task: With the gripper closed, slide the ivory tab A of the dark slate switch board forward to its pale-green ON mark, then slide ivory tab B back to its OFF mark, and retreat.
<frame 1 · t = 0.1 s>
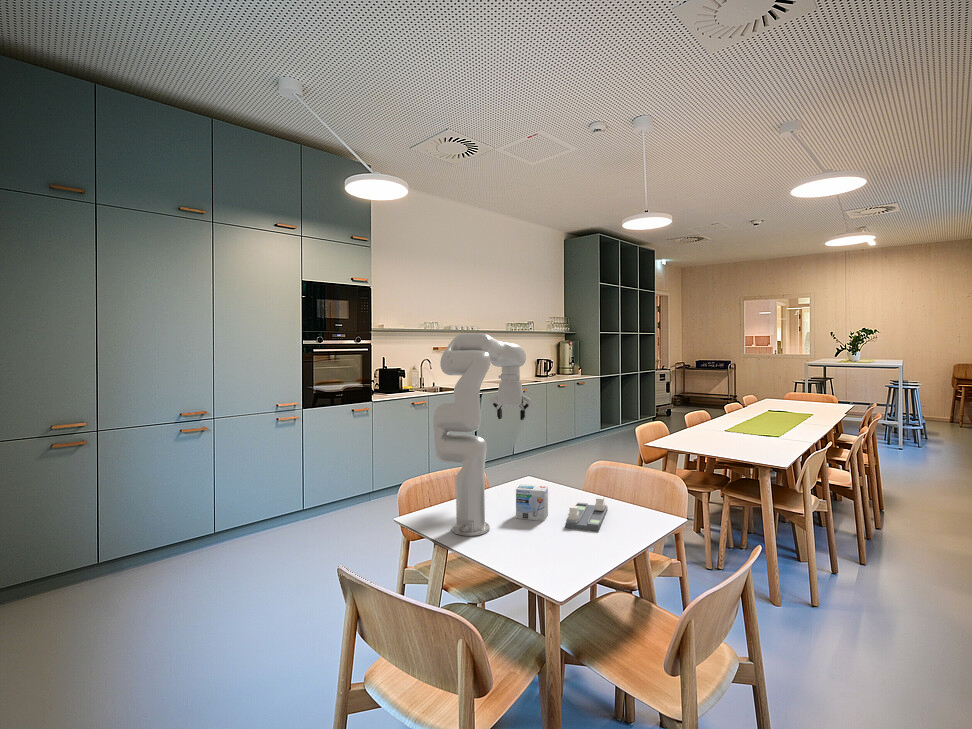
hand: (511, 419, 209), 31 cm above the table, fingers open, 9 cm apart
light bulb box: (532, 517, 180), on the table
tab b: (600, 503, 182), point 4 cm above the table, slide at 14.0 cm
tab a: (573, 512, 172), point 4 cm above the table, slide at 0.5 cm
switch board: (587, 518, 177), on the table
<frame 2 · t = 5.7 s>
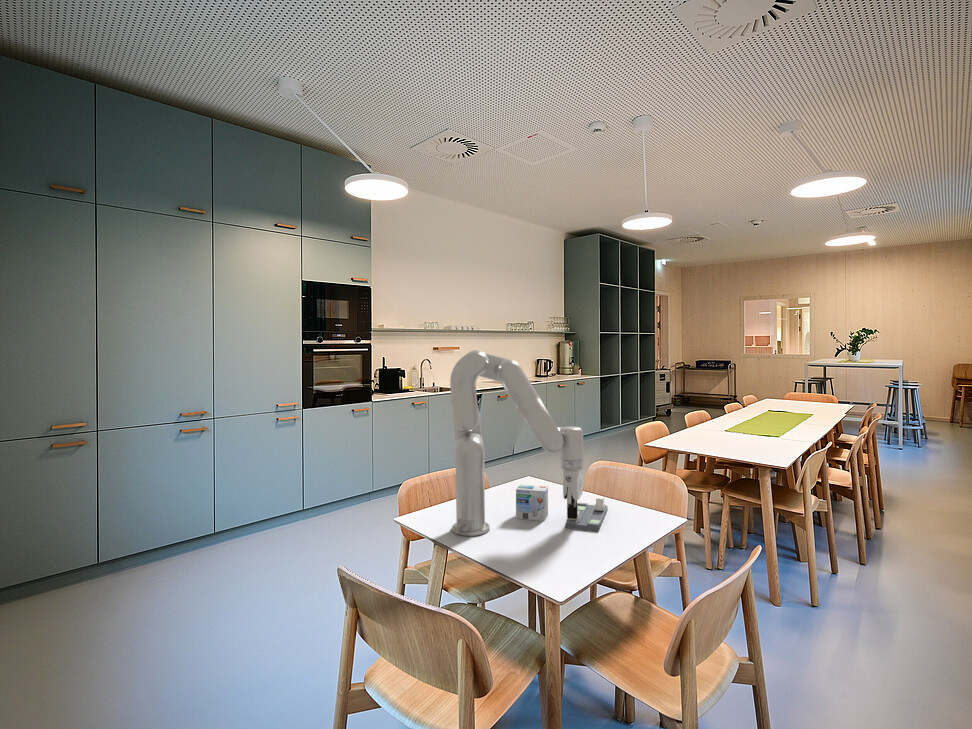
hand: (572, 517, 169), 3 cm above the table, fingers closed
tab a: (574, 512, 172), point 4 cm above the table, slide at 0.9 cm, touching gripper
everything else where it was.
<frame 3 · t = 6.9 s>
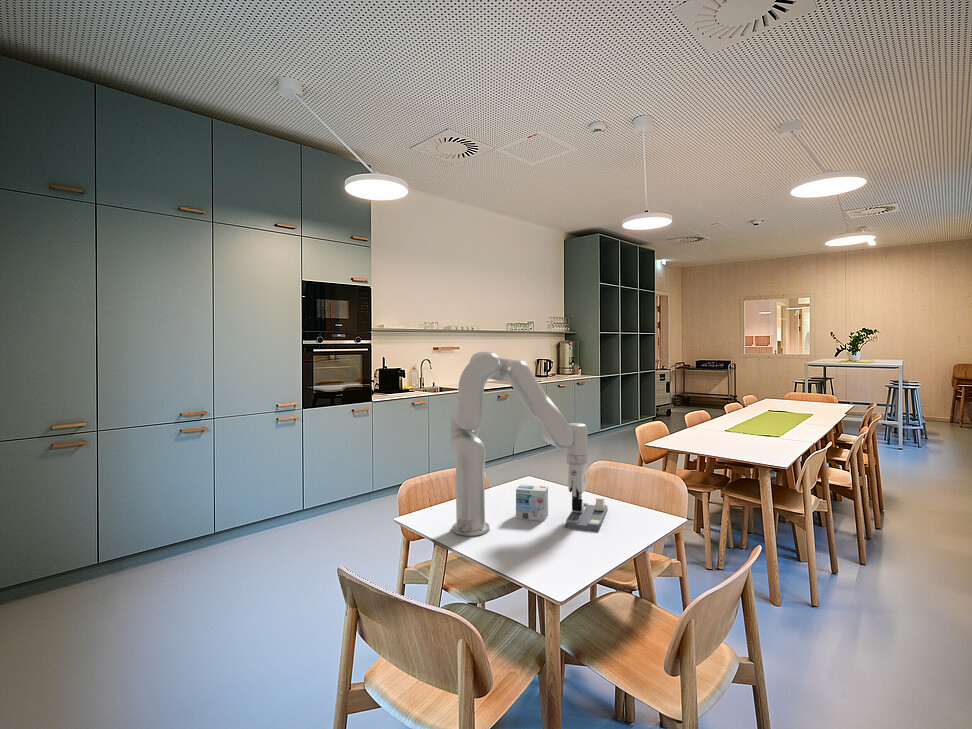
hand: (577, 510, 177), 3 cm above the table, fingers closed
tab a: (578, 505, 180), point 4 cm above the table, slide at 9.4 cm, touching gripper
everything else where it was.
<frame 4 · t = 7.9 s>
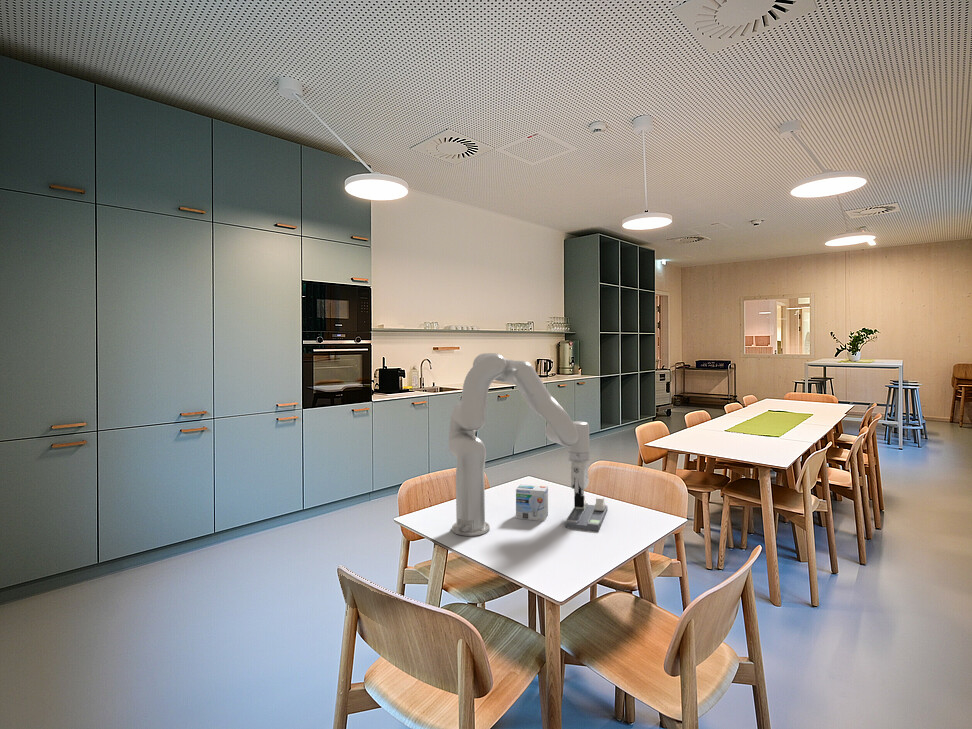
hand: (579, 506, 181), 3 cm above the table, fingers closed
tab a: (580, 501, 184), point 4 cm above the table, slide at 13.8 cm, touching gripper
everything else where it was.
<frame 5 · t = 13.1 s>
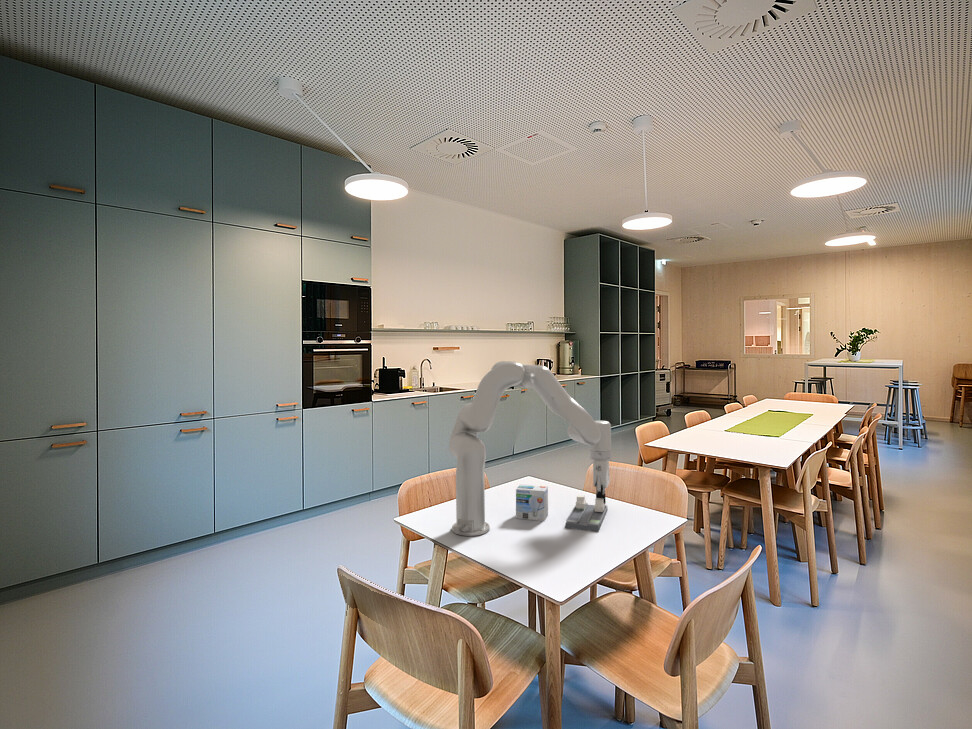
hand: (600, 504, 184), 3 cm above the table, fingers closed
tab b: (599, 504, 181), point 4 cm above the table, slide at 12.5 cm, touching gripper
tab a: (580, 501, 184), point 4 cm above the table, slide at 14.0 cm
everything else where it was.
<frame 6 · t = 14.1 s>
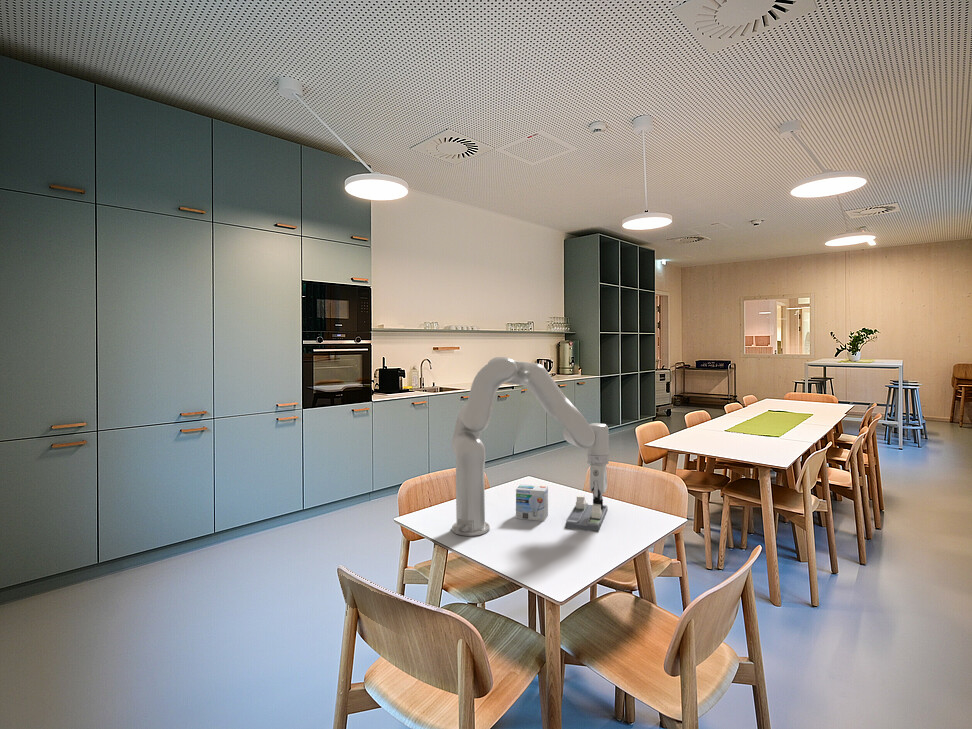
hand: (597, 510, 177), 3 cm above the table, fingers closed
tab b: (596, 510, 174), point 4 cm above the table, slide at 5.3 cm, touching gripper
everything else where it was.
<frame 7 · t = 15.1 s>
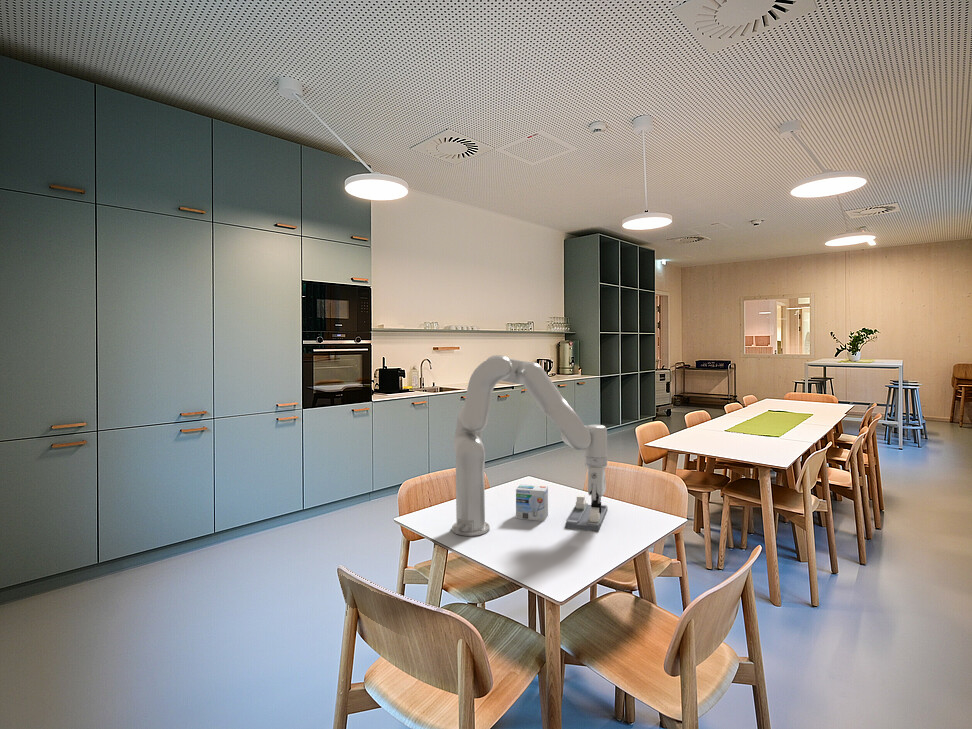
hand: (596, 513, 173), 3 cm above the table, fingers closed
tab b: (594, 514, 170), point 4 cm above the table, slide at 1.1 cm, touching gripper
everything else where it was.
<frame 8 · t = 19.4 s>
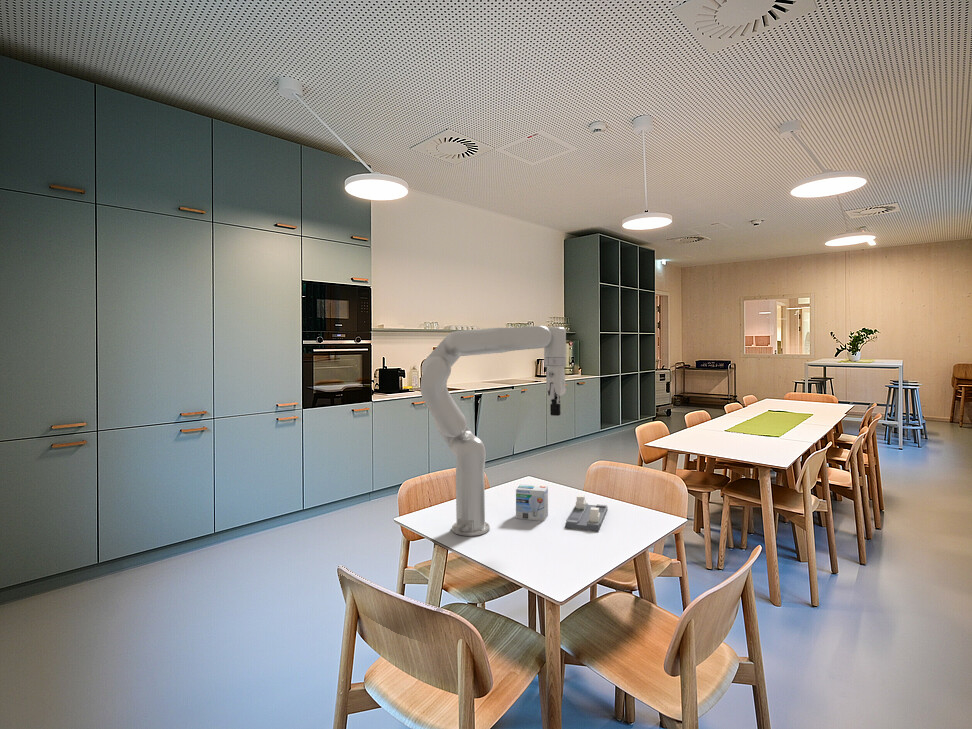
hand: (555, 415, 175), 37 cm above the table, fingers closed
tab b: (594, 514, 170), point 4 cm above the table, slide at 1.0 cm
everything else where it was.
at the end: tab a slide at 14.0 cm; tab b slide at 1.0 cm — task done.
